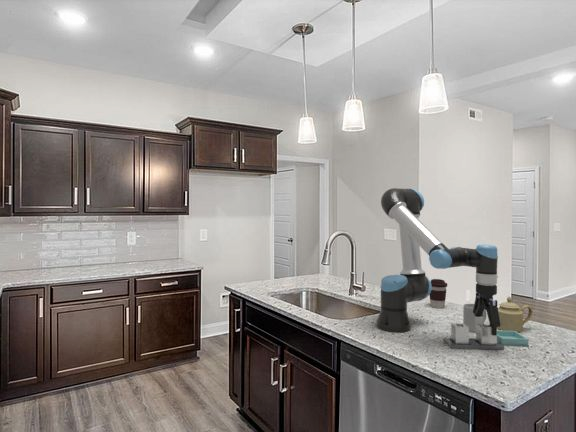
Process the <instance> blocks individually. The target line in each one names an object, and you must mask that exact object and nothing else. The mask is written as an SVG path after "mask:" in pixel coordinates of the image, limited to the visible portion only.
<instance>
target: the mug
mask: <svg viewBox="0 0 576 432" xmlns="http://www.w3.org/2000/svg"><path fill="white" fill-rule="evenodd" d="M473 308H474V303H464V304H463V319H462V320H463V323H462V324H465V325H466V326H468V327H469V333H473V334H476V332H475V317H476V316H475V313H473ZM480 317H483V324H485V322H486V321H487V311H486V310H485V309H484V311H483V316H480Z"/></svg>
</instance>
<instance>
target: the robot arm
mask: <svg viewBox="0 0 576 432" xmlns="http://www.w3.org/2000/svg"><path fill="white" fill-rule="evenodd" d="M424 199H425V198H424V195H423V194H422V193H421V192H420V191H418V189H413V188H397V187H394V188H389V189H387V190H386V191H384V193H383V194H382V196H381V197H380V205H381V208H382V210H383V212H384V213H385V214H386V215H387V216H388V218H389V219H391V220H394V221H395V222H396V223H397V224H398V225H399V226H398V227H399V237H400V239H399V240H400V249H401V260H402V262H401V263H402V270H401V271H400V273H399V274H390V275H385V276H384V277H382V278H381V281H380V310H379V314H378V316H377V319H376V327H377V328H379V329H380V330H382V331H386V332H393V333H404V332H408V331H410V330H411V329H412V327H411V325H412V324H411V321H410V317H409V314H408V305H407V304H408V303H411V302H420V301H423V300H425V299H426V298H428V297H430V293H431V289H432V286H431V282H430V281H431V280H430V279H429V278H428V276H426V271H424V269H423V268H422V260H421V259H422V258H421V256H422V255H421V249H422V250H423V251H424V252H425V253H426V254H427V256H428V261H429V264H430V265H431V266H432V267H433V268H435V269H439V270H440V269H441V270H442V269H449V268H451V269H452V268H458V267H471V268H475V282H476V283H475V300H474V303H473V304H474V308H473V313H475V316H476V317H475V332H476V327H477V324H483V317H480V316H483V311H484V309H485V310H486V316H487V318H488V321H489V322H488V324H490V325H489V343H498V342H497V331H498V329H497V327H500V319H499V313H498V308H499V307H498V300H497V299H494V296H496V295H497V293H498V286H497V284H498V278H499V276H498V258H499V256H498V254H499V253H498V247H497V246H495V245H492V244H477V245H476V248H468V247H462V246H461V247H460V246H457V247H456V246H453V247H450V248H448V247H447V246H446V245H445V244H444V243H443V242H442V241H441V240H440V239H439V238H438V237H437V236H436V235H435V234H434V233H433V232H432V231H431V230H430V229H429V228H428V227H427V226H425V224H424V223H423V222H421V220H419V218H420V217H421V211H423V208H424V206H425V200H424Z"/></svg>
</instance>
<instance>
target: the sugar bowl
mask: <svg viewBox="0 0 576 432" xmlns="http://www.w3.org/2000/svg"><path fill="white" fill-rule="evenodd" d="M498 306H499V307H498V313H499V319H500V327H497V330H498V331H501V330H502V331H516V332H519V333H523V332H524V325H525V324H527V323H528V322H529V321H530V320H531V318H532V315H533V309H532V307H531V306H530V305H528V304H524V305H522V306H521V308H520V305H518V304H516V303H514V302H512V298H511V296H509V295H508V296H507V298H506V301H503V302H501V303H498ZM526 308H527V309H528V315H527V316H526V317H525V318H524V311H525V309H526Z"/></svg>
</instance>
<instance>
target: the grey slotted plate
mask: <svg viewBox="0 0 576 432" xmlns="http://www.w3.org/2000/svg"><path fill="white" fill-rule="evenodd" d="M442 341H443V342H444V343H445V344H446V346H448V347H449V349H453V350H454V349H455V350H479V351H480V350H481V351H483V350H485V351H504V350H505V349H504V348H505V347H504V345H501V344H499V343H498V342H497V343H495V346H486V345H480V344H478V343H477V342H476V338H469V345H454V344H453V343H452V342H451V337H443V339H442Z"/></svg>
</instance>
